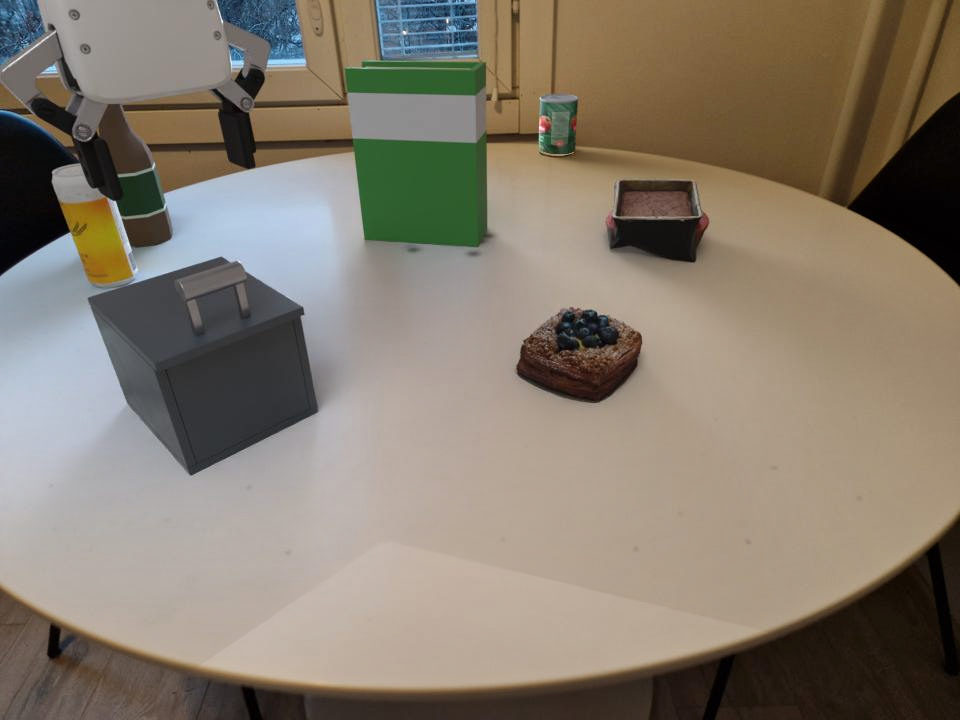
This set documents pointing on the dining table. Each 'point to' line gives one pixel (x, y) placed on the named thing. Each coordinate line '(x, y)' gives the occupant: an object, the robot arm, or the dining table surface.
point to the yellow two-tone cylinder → (94, 229)
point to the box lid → (193, 311)
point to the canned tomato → (558, 123)
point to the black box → (218, 392)
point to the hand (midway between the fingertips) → (181, 179)
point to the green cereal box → (420, 150)
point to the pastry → (580, 355)
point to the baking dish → (657, 217)
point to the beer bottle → (136, 181)
